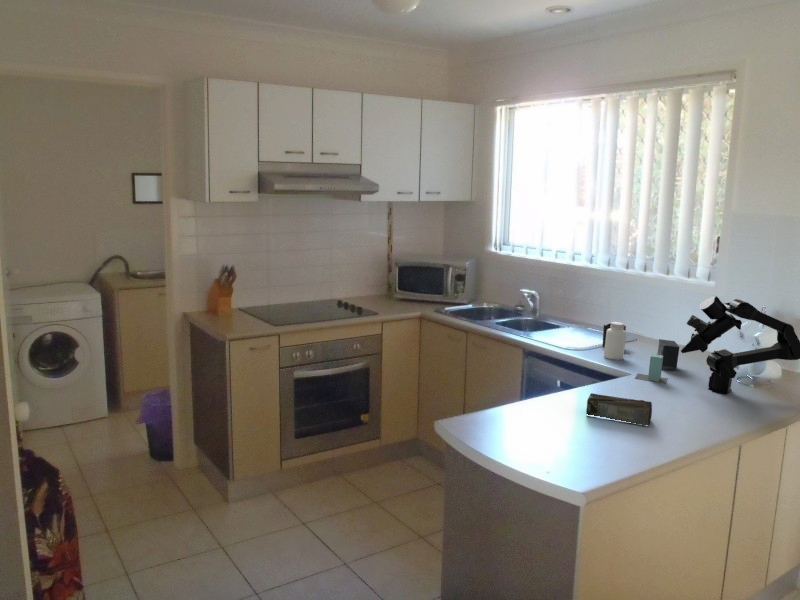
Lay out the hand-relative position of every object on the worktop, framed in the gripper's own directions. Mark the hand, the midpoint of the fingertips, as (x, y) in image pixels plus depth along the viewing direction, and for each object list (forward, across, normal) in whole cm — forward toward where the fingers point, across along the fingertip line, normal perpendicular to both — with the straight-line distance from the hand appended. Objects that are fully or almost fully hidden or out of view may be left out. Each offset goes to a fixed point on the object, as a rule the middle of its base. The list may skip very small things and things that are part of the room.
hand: (681, 352), depth 244 cm
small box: (+13, -21, +4) cm, 25 cm away
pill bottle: (+28, -23, -10) cm, 38 cm away
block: (+14, 0, +3) cm, 14 cm away
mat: (+15, 0, +2) cm, 15 cm away
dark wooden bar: (+18, +49, 0) cm, 53 cm away
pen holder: (+31, -41, -13) cm, 53 cm away
